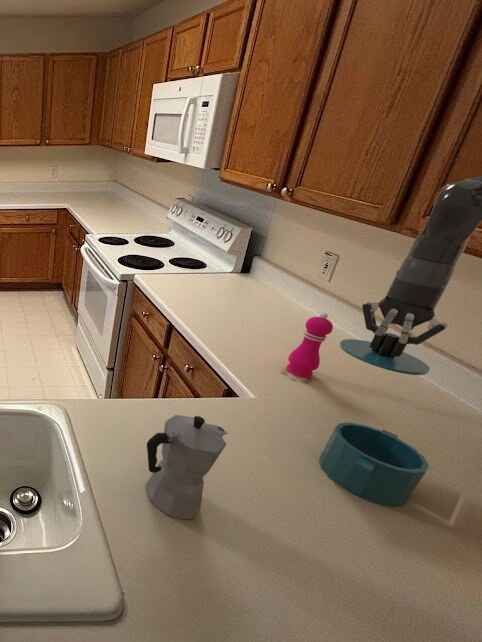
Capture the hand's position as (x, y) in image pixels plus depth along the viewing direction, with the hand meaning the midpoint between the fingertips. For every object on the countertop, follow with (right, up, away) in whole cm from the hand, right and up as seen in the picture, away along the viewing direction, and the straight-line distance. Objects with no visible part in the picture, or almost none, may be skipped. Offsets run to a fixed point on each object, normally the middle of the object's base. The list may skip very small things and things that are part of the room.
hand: (383, 353), depth 91 cm
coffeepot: (-56, -24, -16) cm, 63 cm away
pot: (-12, -24, -7) cm, 28 cm away
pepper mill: (+6, -10, +32) cm, 34 cm away
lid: (0, -1, 0) cm, 1 cm away
